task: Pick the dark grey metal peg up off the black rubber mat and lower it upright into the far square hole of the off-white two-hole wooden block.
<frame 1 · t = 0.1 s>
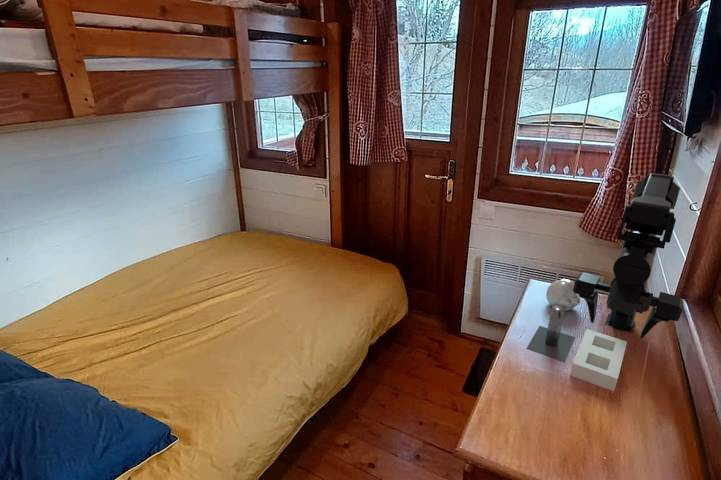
hand: (616, 329, 92), 15 cm above the table, tool pointing down, fingers open, 9 cm apart
hole block: (597, 365, 103), on the table
peg: (551, 342, 111), point 1 cm above the table, touching mat
mat: (550, 344, 111), on the table
ghost figurine: (560, 309, 126), on the table
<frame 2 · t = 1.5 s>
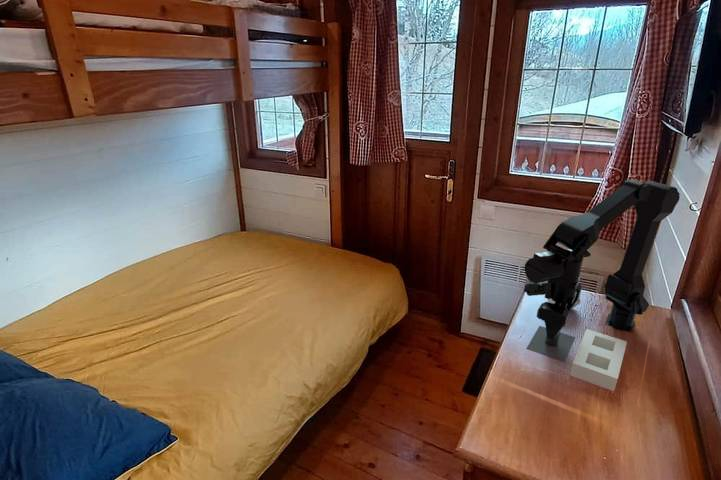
hand: (554, 329, 109), 5 cm above the table, tool pointing down, fingers open, 9 cm apart
nothing on the table moved.
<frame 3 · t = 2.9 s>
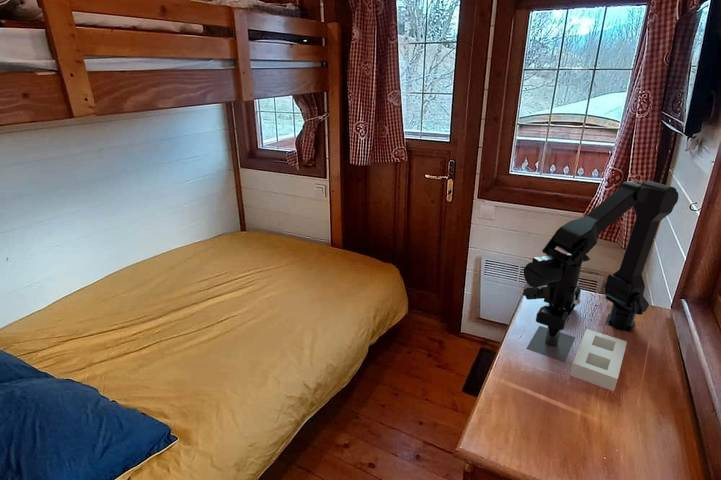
hand: (553, 332, 109), 4 cm above the table, tool pointing down, fingers closed on peg, 3 cm apart
peg: (551, 342, 111), point 1 cm above the table, touching gripper, mat
everything else where it was.
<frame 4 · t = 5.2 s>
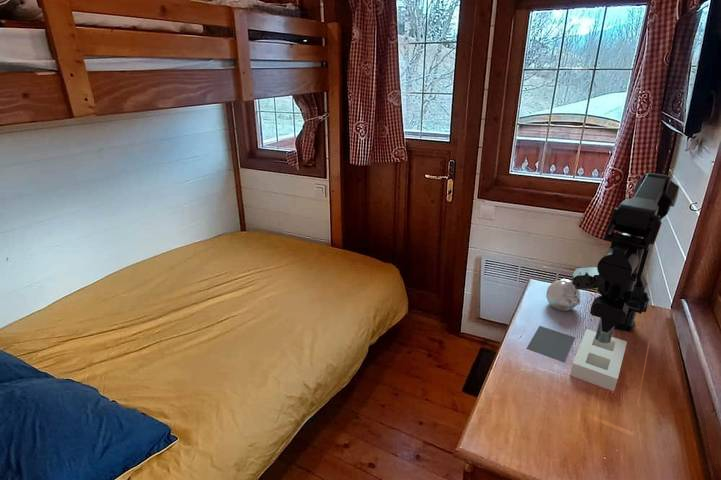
hand: (606, 327, 95), 13 cm above the table, tool pointing down, fingers closed on peg, 3 cm apart
peg: (602, 339, 97), point 10 cm above the table, touching gripper
everything else where it was.
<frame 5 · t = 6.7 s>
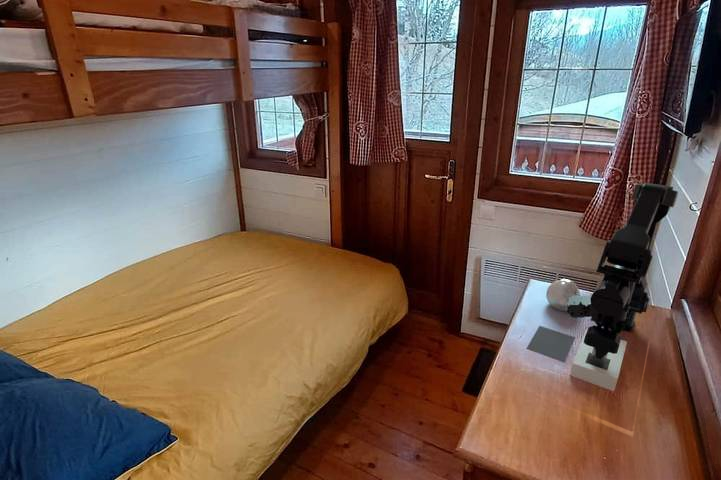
hand: (599, 354, 98), 6 cm above the table, tool pointing down, fingers closed on peg, 3 cm apart
peg: (596, 364, 99), point 3 cm above the table, touching gripper
everything else where it was.
when the fingers open (5 cm above the table, at t = 7.9 s): peg drops 2 cm, resting in hole block.
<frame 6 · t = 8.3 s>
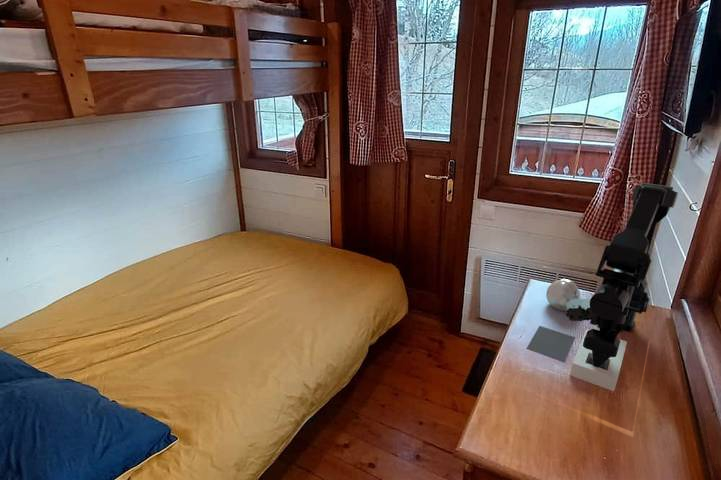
hand: (598, 357, 98), 5 cm above the table, tool pointing down, fingers open, 7 cm apart
peg: (594, 374, 101), resting in hole block
everything else where it was.
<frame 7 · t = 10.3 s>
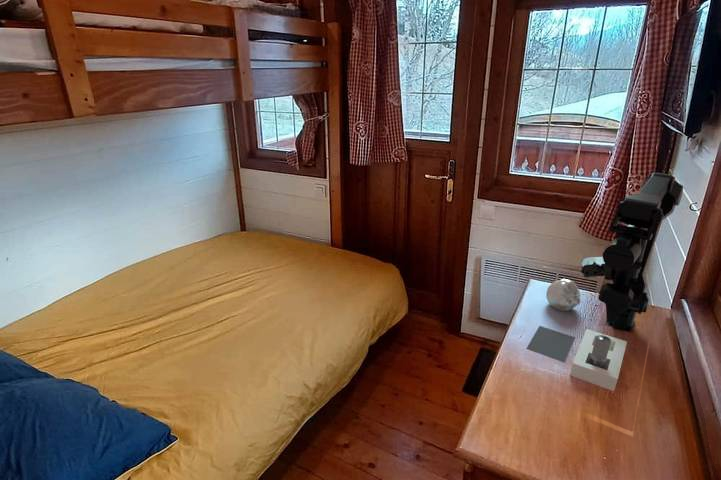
hand: (612, 312, 103), 12 cm above the table, tool pointing down, fingers open, 9 cm apart
nothing on the table moved.
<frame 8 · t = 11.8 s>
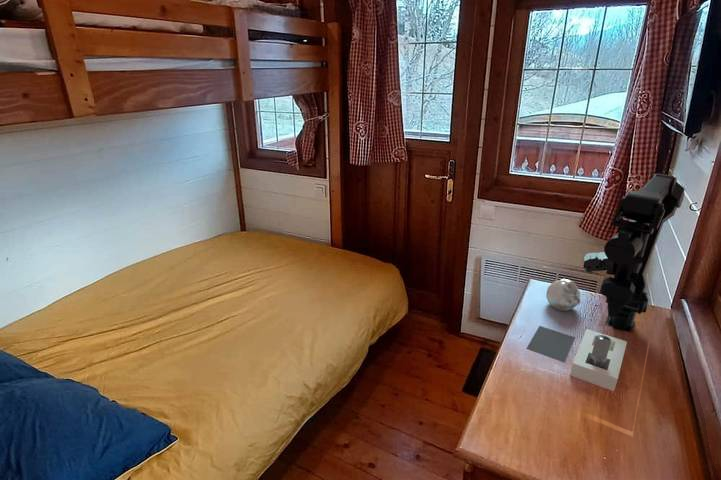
hand: (613, 307, 105), 12 cm above the table, tool pointing down, fingers open, 9 cm apart
nothing on the table moved.
at the end: peg 0.1 cm from the target spot on the hole block, point 0.0 cm above the hole block's base; peg tilted 0°; the gripper is holding nothing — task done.
